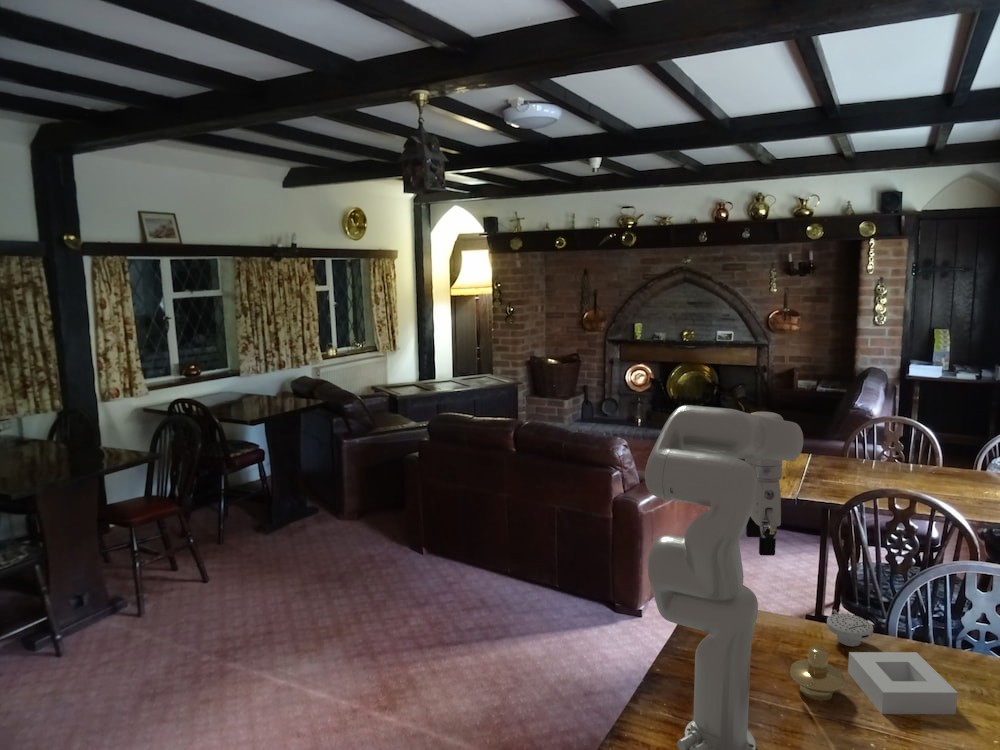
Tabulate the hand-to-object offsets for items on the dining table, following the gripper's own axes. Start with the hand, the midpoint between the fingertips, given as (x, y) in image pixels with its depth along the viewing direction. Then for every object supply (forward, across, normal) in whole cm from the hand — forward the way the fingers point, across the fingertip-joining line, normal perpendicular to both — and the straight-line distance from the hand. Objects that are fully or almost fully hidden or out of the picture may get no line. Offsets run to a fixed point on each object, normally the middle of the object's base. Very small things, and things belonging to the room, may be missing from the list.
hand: (760, 545), depth 151 cm
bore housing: (+27, -13, -24) cm, 39 cm away
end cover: (+27, -14, -8) cm, 31 cm away
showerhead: (+27, +5, -22) cm, 35 cm away
